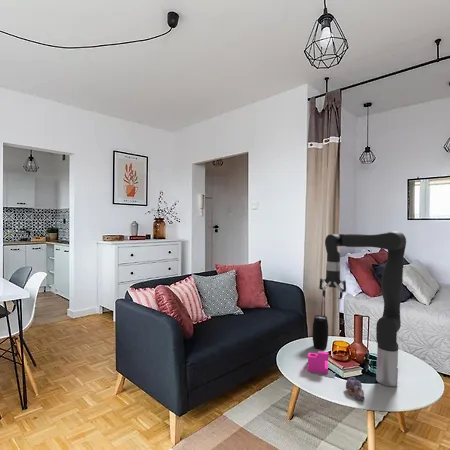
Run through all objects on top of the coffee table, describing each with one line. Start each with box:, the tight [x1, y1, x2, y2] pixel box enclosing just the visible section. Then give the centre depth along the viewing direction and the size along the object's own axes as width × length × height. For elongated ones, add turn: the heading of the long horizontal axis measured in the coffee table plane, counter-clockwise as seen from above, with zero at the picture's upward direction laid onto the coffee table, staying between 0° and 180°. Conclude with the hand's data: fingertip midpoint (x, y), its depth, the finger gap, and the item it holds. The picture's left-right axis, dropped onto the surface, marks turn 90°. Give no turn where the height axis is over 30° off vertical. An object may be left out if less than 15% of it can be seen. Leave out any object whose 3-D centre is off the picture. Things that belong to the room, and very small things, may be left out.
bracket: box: [307, 350, 330, 374], centre depth 173 cm, size 12×10×10 cm
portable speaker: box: [312, 314, 329, 351], centre depth 199 cm, size 9×9×20 cm
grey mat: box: [309, 370, 336, 379], centre depth 171 cm, size 12×14×1 cm
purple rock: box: [345, 376, 365, 401], centre depth 147 cm, size 12×8×6 cm, turn 175°
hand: (332, 297), depth 180 cm, fingers open, 8 cm apart
